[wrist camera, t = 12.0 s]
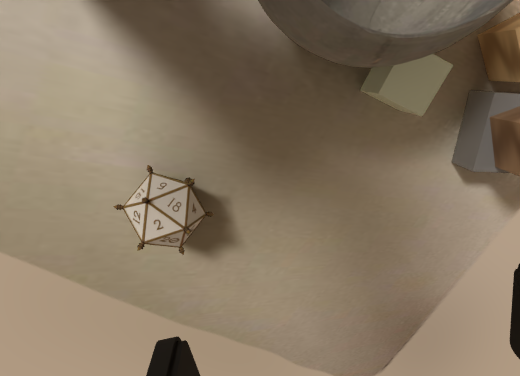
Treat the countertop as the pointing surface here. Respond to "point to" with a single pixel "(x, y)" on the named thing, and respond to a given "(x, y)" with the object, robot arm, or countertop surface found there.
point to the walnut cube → (506, 140)
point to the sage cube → (408, 83)
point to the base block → (481, 129)
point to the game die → (164, 211)
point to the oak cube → (502, 50)
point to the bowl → (379, 27)
